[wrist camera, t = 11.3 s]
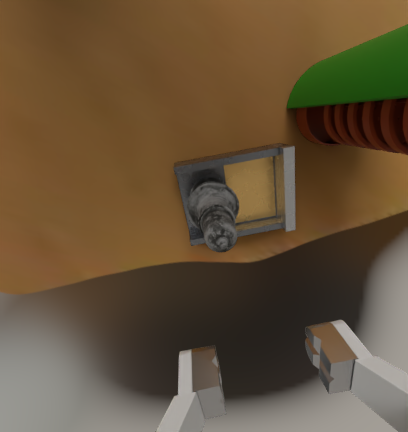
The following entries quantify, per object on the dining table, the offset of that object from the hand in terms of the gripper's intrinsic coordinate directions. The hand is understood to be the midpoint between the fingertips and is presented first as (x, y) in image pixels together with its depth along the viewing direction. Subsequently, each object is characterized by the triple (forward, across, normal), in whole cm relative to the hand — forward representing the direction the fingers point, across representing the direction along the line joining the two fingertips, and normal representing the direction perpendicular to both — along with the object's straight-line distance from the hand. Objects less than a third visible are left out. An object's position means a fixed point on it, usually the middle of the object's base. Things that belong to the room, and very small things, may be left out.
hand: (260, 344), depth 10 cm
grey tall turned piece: (+20, 0, 0) cm, 20 cm away
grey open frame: (+21, -3, 0) cm, 21 cm away
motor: (+21, -16, -8) cm, 28 cm away
